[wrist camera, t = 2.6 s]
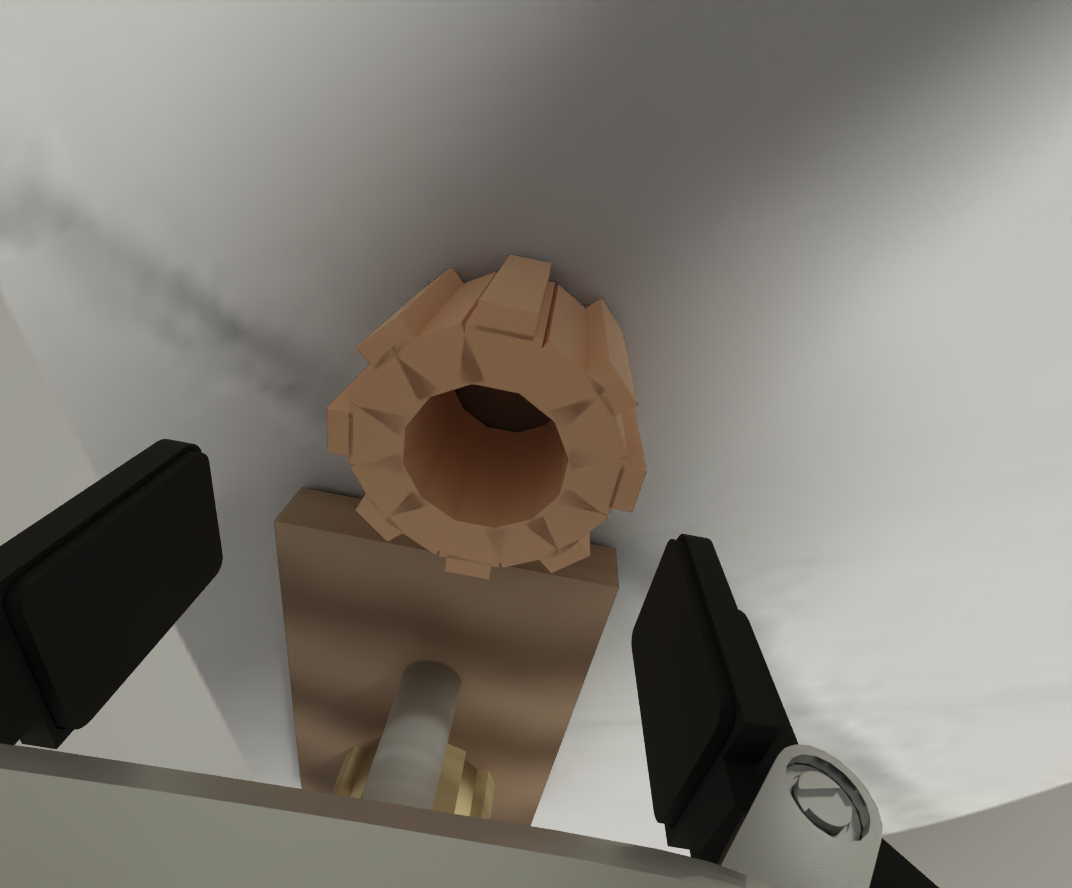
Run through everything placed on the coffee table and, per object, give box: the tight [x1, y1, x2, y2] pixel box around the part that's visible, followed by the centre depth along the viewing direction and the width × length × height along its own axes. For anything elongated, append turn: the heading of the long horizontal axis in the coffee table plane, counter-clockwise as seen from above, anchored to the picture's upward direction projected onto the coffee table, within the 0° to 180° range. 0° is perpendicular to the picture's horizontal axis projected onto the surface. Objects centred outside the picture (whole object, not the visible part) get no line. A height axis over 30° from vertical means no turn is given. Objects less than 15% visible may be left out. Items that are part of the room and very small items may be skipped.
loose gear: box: [327, 255, 647, 580], centre depth 14 cm, size 7×7×5 cm
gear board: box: [274, 487, 619, 826], centre depth 21 cm, size 20×12×6 cm, turn 170°
